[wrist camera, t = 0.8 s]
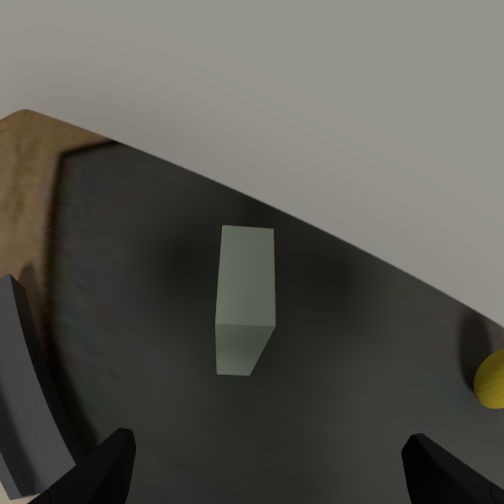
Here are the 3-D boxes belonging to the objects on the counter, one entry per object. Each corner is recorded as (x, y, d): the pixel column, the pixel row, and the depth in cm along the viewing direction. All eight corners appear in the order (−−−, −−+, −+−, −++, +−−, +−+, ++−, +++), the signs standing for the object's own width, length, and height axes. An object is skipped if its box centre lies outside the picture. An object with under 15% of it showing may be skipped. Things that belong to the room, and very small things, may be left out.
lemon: (450, 381, 24) (508, 356, 17) (480, 353, 25) (533, 324, 18) (470, 425, 21) (530, 410, 14) (499, 394, 23) (554, 373, 16)
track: (97, 472, 17) (82, 475, 15) (29, 496, 14) (10, 500, 12) (24, 288, 24) (9, 273, 22) (-30, 320, 22) (-46, 308, 19)
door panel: (249, 375, 23) (275, 326, 13) (216, 374, 23) (215, 323, 13) (250, 316, 26) (273, 228, 16) (220, 314, 26) (222, 225, 16)
